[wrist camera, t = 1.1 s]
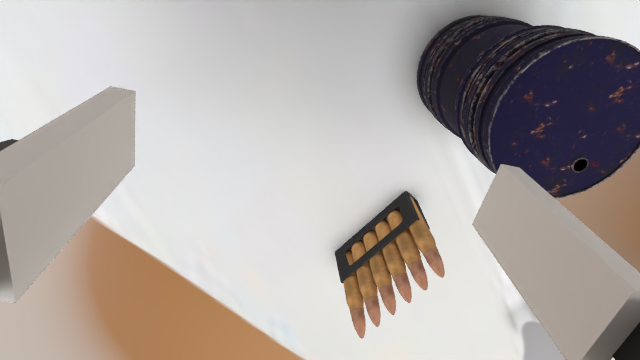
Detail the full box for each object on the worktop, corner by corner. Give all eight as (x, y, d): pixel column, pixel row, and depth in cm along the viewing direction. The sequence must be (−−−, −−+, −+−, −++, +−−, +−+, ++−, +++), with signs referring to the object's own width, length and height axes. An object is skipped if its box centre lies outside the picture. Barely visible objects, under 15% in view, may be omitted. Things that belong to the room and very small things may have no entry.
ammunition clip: (406, 190, 41) (444, 263, 30) (417, 200, 42) (459, 275, 31) (334, 252, 44) (346, 339, 33) (345, 261, 45) (361, 348, 34)
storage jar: (399, 47, 35) (464, 88, 21) (507, -9, 33) (651, -3, 20) (436, 141, 39) (510, 224, 25) (534, 95, 37) (667, 158, 24)
